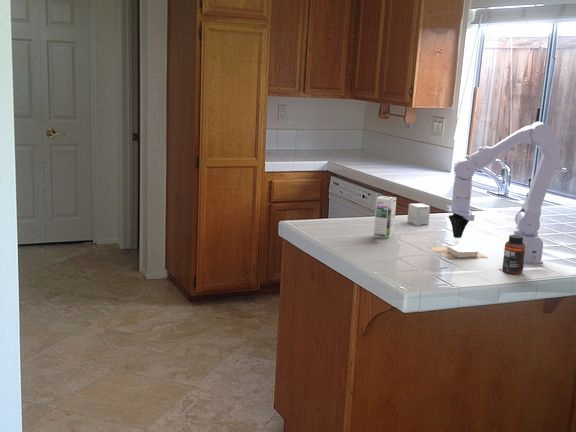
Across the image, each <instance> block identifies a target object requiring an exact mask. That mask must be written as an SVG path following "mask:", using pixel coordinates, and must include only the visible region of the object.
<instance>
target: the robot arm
mask: <svg viewBox="0 0 576 432" xmlns="http://www.w3.org/2000/svg"><path fill="white" fill-rule="evenodd" d="M532 143H534V144H535V145H536V147H537V148H538V150H539V151H540V153H541V156H540V160H539V162H538V165H537V168H536V171H535V173H534V176H533V180H532V181H531V185H530V188H529V190H528V191H529V192H528V194H527V197H526V200H525V201H524V202H523V204H522V207H521V209H520V210H519V211H518V212H517V213H516V214H515V219H514V221H515V224H516V225H517V226H516V228H514V231H513V235H520V236H523V241H522V242H523V243H524V244H525V256H524V264H526V263H527V264H529V263H530V264H531V263H532V264H533V263H537V264H543V263H544V261H543V260H542V257H543V249H544V242H543V240H542V238H540V237H539V232H538V231H539V229H540V226H541V222H540V218H541V214H542V205H543V202H544V200H545V197H546V194H547V191H548V188H549V186H550V184H551V180H552V177H553V174H554V172H555V169H556V166H557V163H558V160H559V157H560V155H561V150H560V146H559V143H558V140H557V134H556V132H555V131H554V130H553V128H552V127H551V125H549V124H547V123H545V122H542V121H535V122H533V123H531V124H529V125H526V126H524V127H522V128H520V129H518V130H517V131H515V132H513V133H512V134H510V135H508V136H507V137H506V138H504V139H502V140H501V141H499V142H498V143H496V144H494V145H493V146H488V145H486V146H484V147H483V146H480V147H478V148H477V149H478V150H477V151H475V152H473V153H471V154H470V155H468V154H467V155H466V156H464V158H465V159H463V158H462V159H460V160H458V161H457V162H456V163H455V165H454V169H453V171H454V172H455V175H454V182H453V187H452V189H453V190H452V199H451V204H450V205H446V206H445V207H446V208H445V212H448V213H451V215H450V214H449V215H448V218H449V221H450V224H451V227H452V234H453V235H452V236H453V238H455V239H461V238H462V236H463V233H464V231H465V228H466V227H467V225H468V223H469V222H473V221H474V222H475V217H476V216H475V214H473V213H472V211H470V207H471V206H470V205H471V198H472V188H473V187H472V186H473V183H472V180H473V177H474V175H475V172H480V171H482V170H483V169H484V168H486V167H488V166H490V165H492V164H493V163H496V160H497V157H498V156H499V155H501V154H503V153H505V152H507V151H509V150H511V149H513V148H515V147H517V146H518V145H519V144H532Z"/></svg>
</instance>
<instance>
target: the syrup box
mask: <svg viewBox="0 0 576 432" xmlns="http://www.w3.org/2000/svg"><path fill="white" fill-rule="evenodd" d="M396 206H397V197H394V196H386V195H379V196H377V197H376V200H375V212H374V227H373V228H374V229H373V238H375V239H376V238H383V239H390V238H393V237H394V234H395V233H394V232H395V219H396V209H397V207H396Z"/></svg>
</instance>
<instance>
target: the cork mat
mask: <svg viewBox="0 0 576 432" xmlns="http://www.w3.org/2000/svg"><path fill="white" fill-rule="evenodd" d="M448 246H449V245H439V246H428V248H429V249H431V250H432V251H434V252H436V253H437V254H439V255H441V256H443V257H444V258H446V259H448V260H470V259H471V260H472V259H473V260H474V259H475V260H476V259H489V257H488V256H486V255H484V254H482V253H480V252H478V255H477V257H471V258H457V257H455V256H453V255H452V254H450V253H448V252H447V247H448ZM460 246H466V245H463V244H461V245H460Z"/></svg>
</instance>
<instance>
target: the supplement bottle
mask: <svg viewBox="0 0 576 432" xmlns="http://www.w3.org/2000/svg"><path fill="white" fill-rule="evenodd" d="M522 241H523V236H520V235H514V234H509V236H508V241H506V242H505V244H504V249H503V257H502V258H503V259H502V267H501V269H502V271H503V272H504V273H506V274H510V275H521V274H522V273H523V272H524V271H523V270H524V264H525V263H524V256H525V244H524V243H523V242H522Z"/></svg>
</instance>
